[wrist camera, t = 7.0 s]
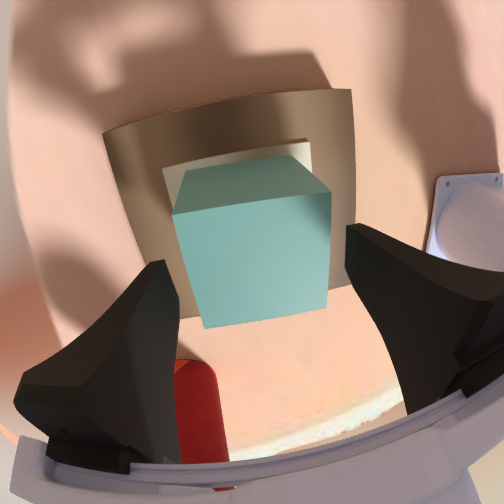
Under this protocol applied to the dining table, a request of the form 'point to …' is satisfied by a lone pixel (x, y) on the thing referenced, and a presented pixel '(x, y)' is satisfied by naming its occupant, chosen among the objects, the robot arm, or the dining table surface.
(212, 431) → the paper cup
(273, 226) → the teal block
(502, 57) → the dining table surface
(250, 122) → the walnut base
